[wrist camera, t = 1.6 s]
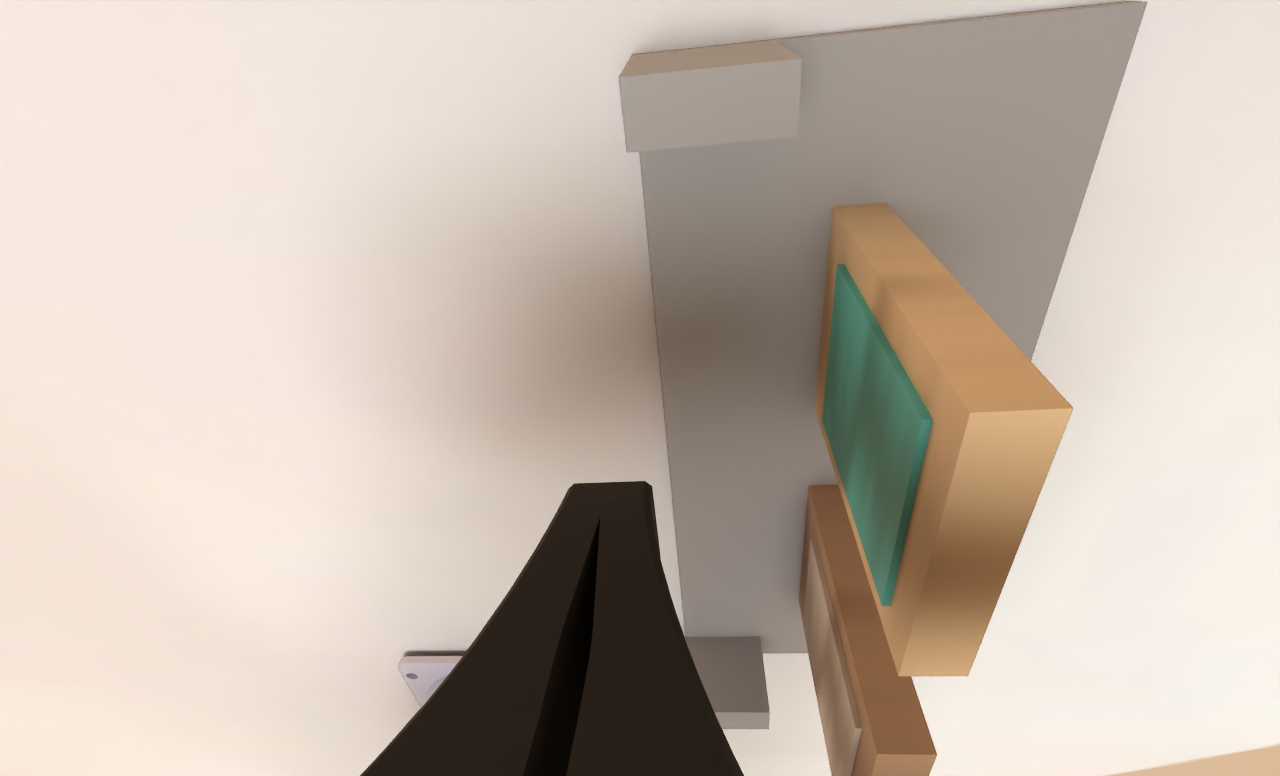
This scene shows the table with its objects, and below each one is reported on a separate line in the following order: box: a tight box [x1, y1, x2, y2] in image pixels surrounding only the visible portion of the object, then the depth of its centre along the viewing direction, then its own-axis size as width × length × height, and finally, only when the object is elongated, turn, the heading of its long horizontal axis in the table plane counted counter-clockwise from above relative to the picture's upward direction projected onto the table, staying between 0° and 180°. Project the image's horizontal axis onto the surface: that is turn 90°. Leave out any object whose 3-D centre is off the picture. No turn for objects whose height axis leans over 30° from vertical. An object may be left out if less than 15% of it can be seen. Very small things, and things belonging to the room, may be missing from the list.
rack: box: [619, 1, 1147, 729], centre depth 17 cm, size 22×10×4 cm, turn 6°
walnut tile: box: [799, 484, 937, 776], centre depth 17 cm, size 6×1×8 cm, turn 6°
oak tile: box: [815, 202, 1073, 676], centre depth 12 cm, size 6×1×8 cm, turn 6°
